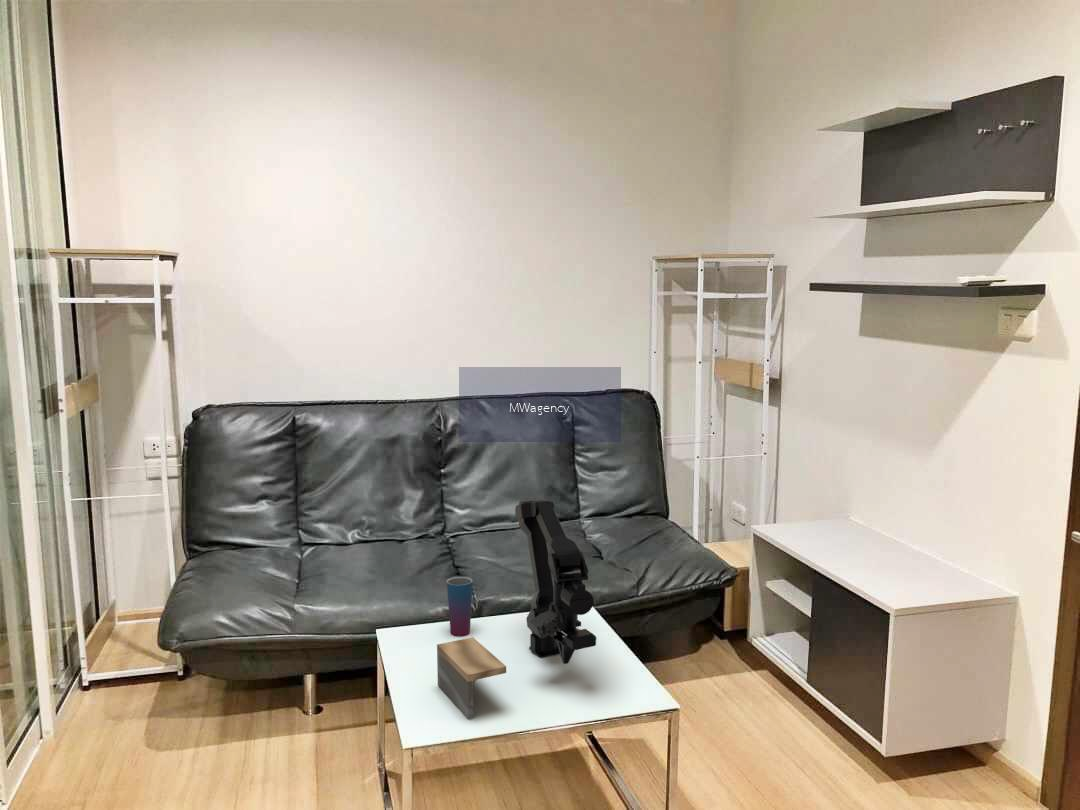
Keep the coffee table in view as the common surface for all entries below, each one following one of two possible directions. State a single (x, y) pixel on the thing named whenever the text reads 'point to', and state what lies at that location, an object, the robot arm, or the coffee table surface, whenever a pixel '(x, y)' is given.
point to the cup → (459, 605)
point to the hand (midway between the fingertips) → (565, 663)
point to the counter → (464, 670)
